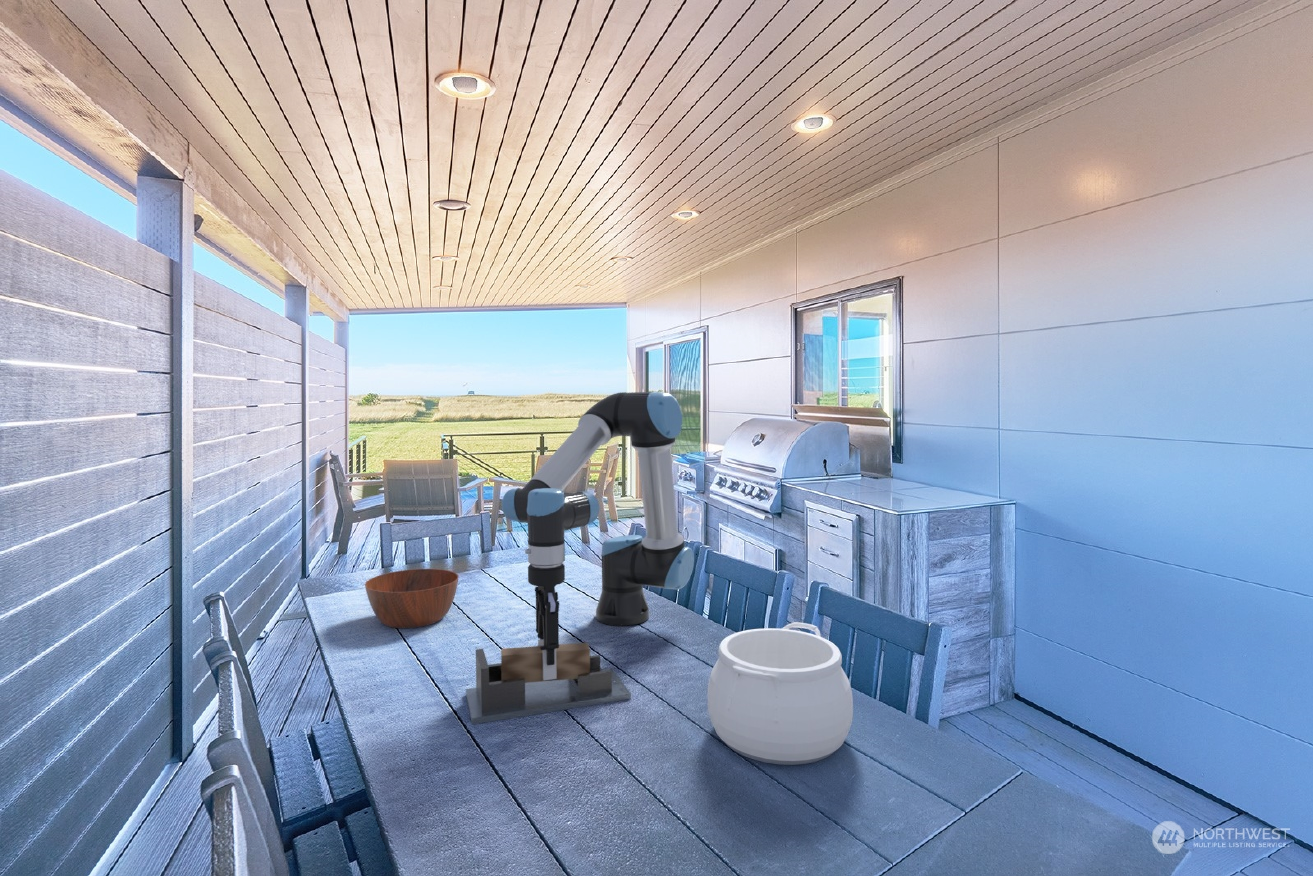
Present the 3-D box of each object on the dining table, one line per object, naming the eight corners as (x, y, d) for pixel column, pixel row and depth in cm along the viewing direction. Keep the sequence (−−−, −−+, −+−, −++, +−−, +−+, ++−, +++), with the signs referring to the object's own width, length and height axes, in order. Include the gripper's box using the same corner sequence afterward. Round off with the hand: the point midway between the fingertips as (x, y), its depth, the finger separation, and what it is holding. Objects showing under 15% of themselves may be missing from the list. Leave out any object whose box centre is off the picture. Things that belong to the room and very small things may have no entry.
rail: (587, 670, 146) (587, 642, 146) (589, 677, 142) (589, 649, 142) (501, 677, 142) (501, 648, 141) (501, 684, 138) (501, 655, 138)
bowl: (345, 628, 186) (344, 586, 185) (410, 602, 209) (409, 565, 208) (417, 640, 176) (416, 596, 176) (477, 611, 199) (476, 573, 199)
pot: (823, 796, 107) (824, 689, 106) (677, 750, 121) (677, 655, 120) (871, 722, 131) (872, 634, 130) (745, 691, 145) (746, 611, 144)
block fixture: (611, 673, 154) (611, 630, 154) (630, 699, 141) (630, 651, 141) (466, 694, 143) (465, 648, 143) (471, 724, 130) (471, 673, 130)
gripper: (521, 556, 148) (522, 661, 149) (535, 575, 131) (536, 693, 133) (555, 553, 150) (556, 657, 151) (573, 572, 134) (574, 688, 135)
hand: (547, 674), depth 142 cm, fingers closed on rail, 4 cm apart
